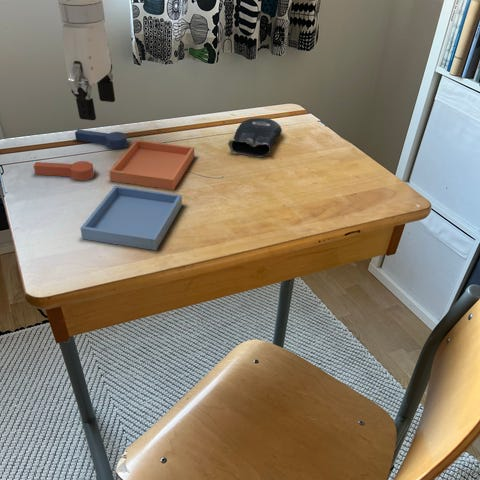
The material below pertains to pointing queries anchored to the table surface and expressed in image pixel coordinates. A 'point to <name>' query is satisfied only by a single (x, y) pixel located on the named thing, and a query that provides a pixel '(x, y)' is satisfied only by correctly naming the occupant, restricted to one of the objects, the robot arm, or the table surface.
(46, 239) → the table surface
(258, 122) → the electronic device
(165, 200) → the blue tray
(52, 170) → the spoon terracotta
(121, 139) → the dark blue paddle
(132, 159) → the terracotta tray
